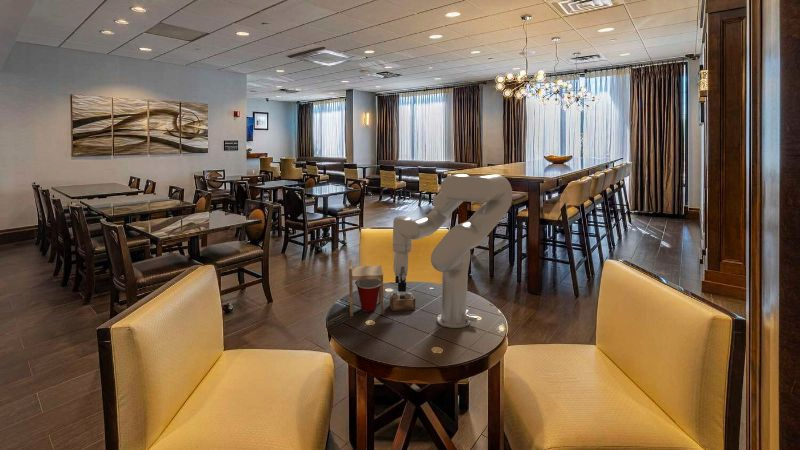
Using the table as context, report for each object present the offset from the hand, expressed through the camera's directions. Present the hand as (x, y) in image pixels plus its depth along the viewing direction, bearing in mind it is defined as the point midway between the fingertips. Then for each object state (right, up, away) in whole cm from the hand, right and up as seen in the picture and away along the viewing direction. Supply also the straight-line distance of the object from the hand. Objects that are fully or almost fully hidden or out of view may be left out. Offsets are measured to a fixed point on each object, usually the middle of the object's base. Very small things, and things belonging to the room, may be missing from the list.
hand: (400, 287), depth 176 cm
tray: (+1, -9, +1) cm, 9 cm away
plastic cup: (-13, -9, 0) cm, 16 cm away
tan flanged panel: (-14, -9, -1) cm, 17 cm away
